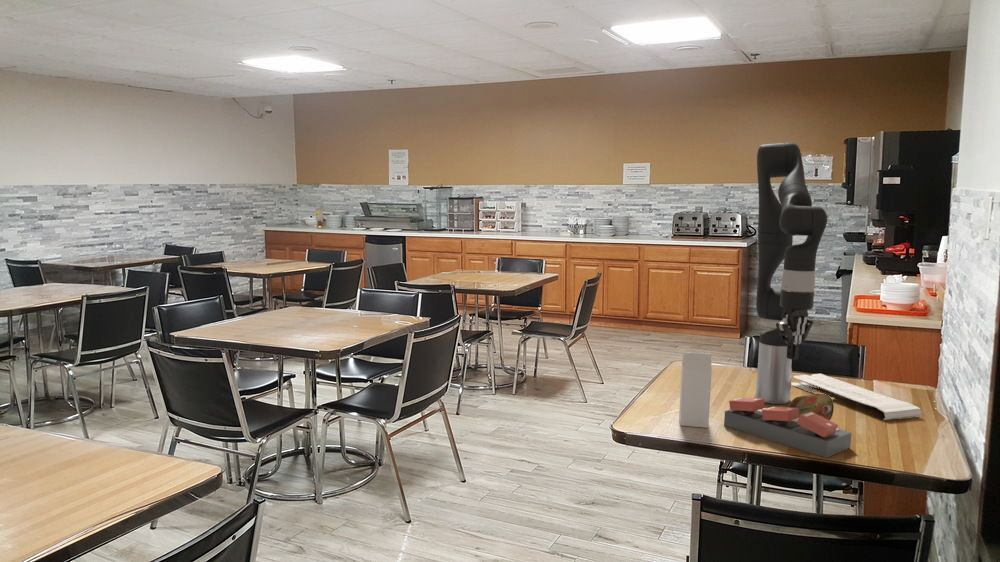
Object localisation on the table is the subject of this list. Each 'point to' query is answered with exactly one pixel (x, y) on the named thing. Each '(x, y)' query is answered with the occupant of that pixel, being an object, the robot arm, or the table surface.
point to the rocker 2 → (780, 413)
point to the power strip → (788, 433)
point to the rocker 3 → (817, 424)
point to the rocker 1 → (747, 404)
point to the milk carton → (695, 389)
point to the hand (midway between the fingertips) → (792, 358)
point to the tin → (814, 405)
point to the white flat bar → (859, 395)
